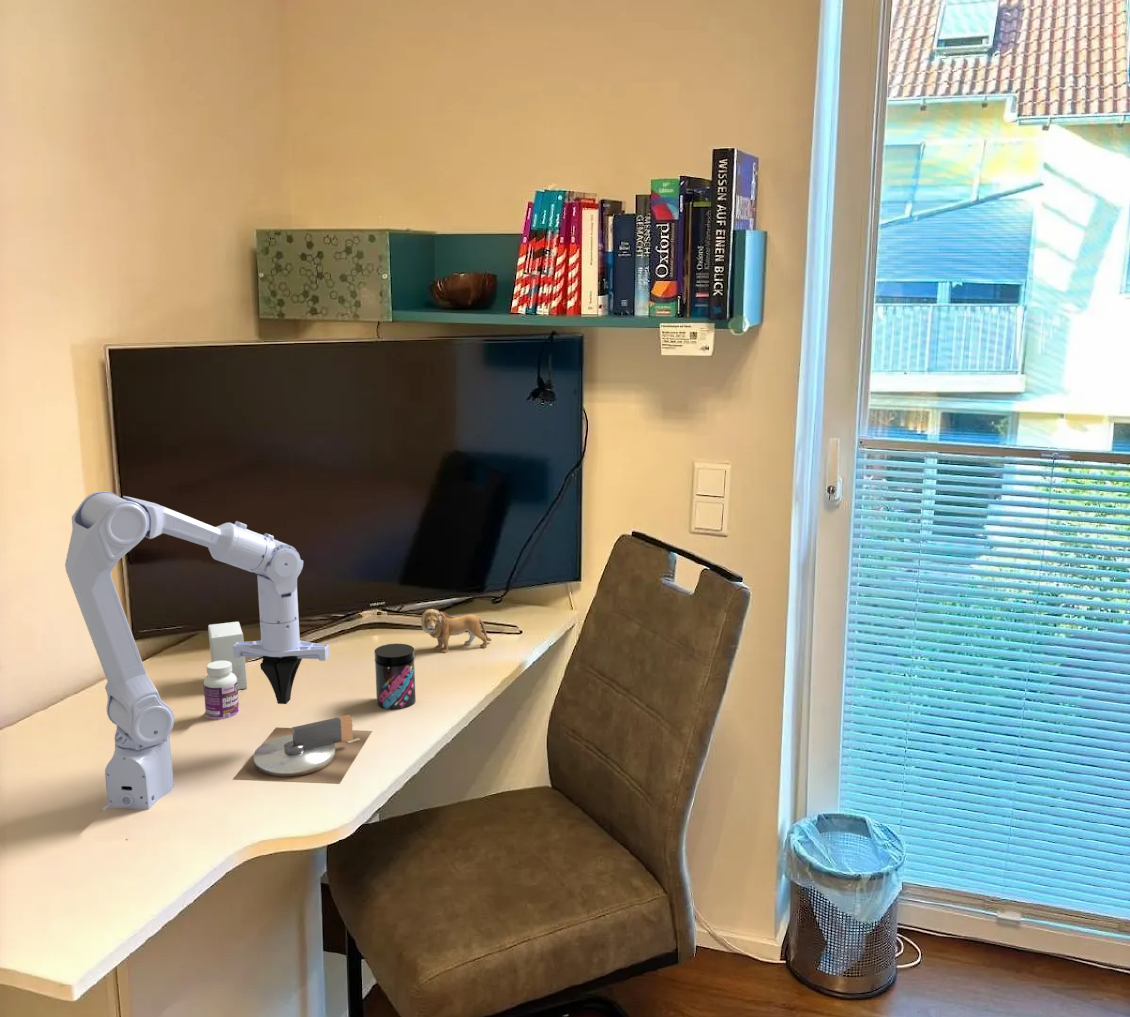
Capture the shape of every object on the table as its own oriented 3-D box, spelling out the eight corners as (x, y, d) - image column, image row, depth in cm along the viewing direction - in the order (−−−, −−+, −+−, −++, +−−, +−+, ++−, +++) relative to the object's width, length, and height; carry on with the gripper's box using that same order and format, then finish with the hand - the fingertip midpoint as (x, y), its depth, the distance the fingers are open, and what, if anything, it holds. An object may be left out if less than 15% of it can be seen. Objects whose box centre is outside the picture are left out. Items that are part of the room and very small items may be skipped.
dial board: (339, 789, 153) (339, 782, 153) (233, 785, 154) (232, 778, 154) (372, 736, 171) (372, 730, 170) (276, 733, 172) (275, 726, 172)
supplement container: (369, 712, 180) (367, 655, 178) (387, 697, 186) (384, 641, 184) (406, 717, 178) (404, 659, 176) (422, 702, 184) (420, 645, 182)
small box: (247, 689, 190) (243, 633, 188) (215, 693, 188) (210, 637, 186) (243, 674, 197) (239, 620, 195) (212, 678, 195) (207, 624, 193)
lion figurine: (427, 658, 205) (425, 614, 203) (417, 650, 210) (416, 607, 208) (496, 646, 212) (495, 603, 210) (485, 638, 216) (485, 596, 214)
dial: (266, 783, 152) (264, 753, 151) (244, 752, 162) (242, 723, 161) (365, 759, 160) (364, 730, 159) (338, 730, 170) (337, 702, 169)
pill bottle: (229, 726, 175) (225, 671, 173) (200, 723, 176) (195, 669, 174) (245, 713, 180) (241, 659, 178) (217, 710, 181) (212, 657, 179)
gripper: (333, 611, 164) (337, 693, 167) (243, 608, 166) (248, 689, 168) (319, 625, 157) (323, 711, 160) (225, 622, 159) (231, 707, 162)
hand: (284, 701), depth 164 cm, fingers closed
